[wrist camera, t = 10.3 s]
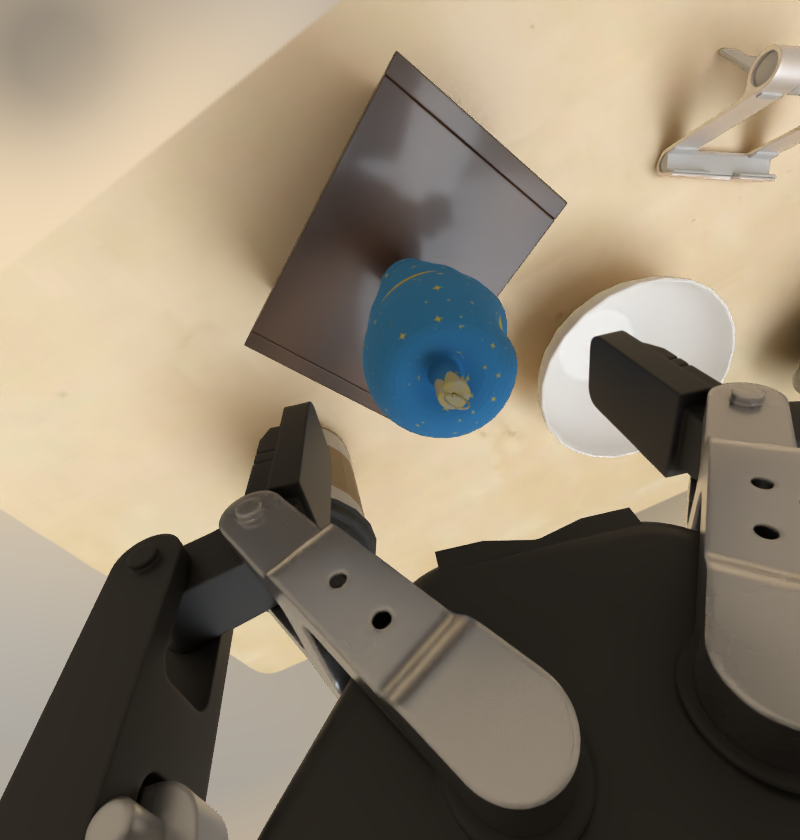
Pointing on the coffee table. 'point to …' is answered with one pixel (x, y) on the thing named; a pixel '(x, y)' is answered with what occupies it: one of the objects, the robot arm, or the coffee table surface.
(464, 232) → the wooden drawer cabinet
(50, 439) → the coffee table surface
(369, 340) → the ornament
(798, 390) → the piggy bank
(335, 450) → the coffee cup
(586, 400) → the bowl
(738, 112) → the tablet stand
